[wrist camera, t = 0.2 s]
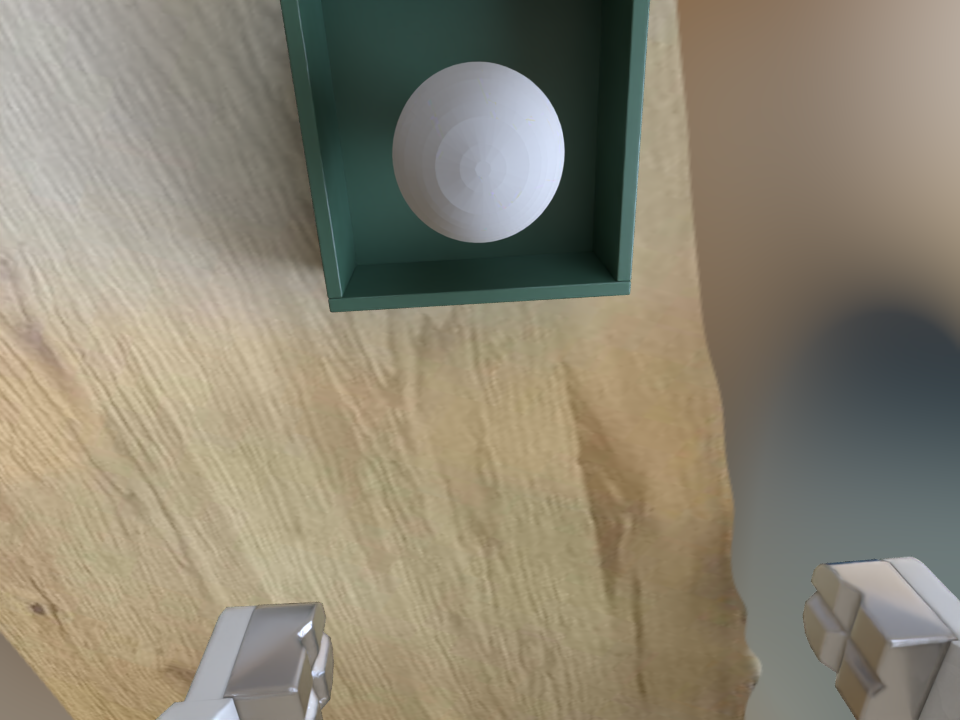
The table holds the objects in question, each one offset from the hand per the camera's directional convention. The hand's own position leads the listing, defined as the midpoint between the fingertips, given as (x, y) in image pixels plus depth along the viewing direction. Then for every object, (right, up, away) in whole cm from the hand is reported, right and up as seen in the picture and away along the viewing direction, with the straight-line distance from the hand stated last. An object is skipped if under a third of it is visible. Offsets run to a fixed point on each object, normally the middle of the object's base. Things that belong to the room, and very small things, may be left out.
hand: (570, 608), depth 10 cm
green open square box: (-2, +14, +16) cm, 22 cm away
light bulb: (-2, +14, +16) cm, 21 cm away
